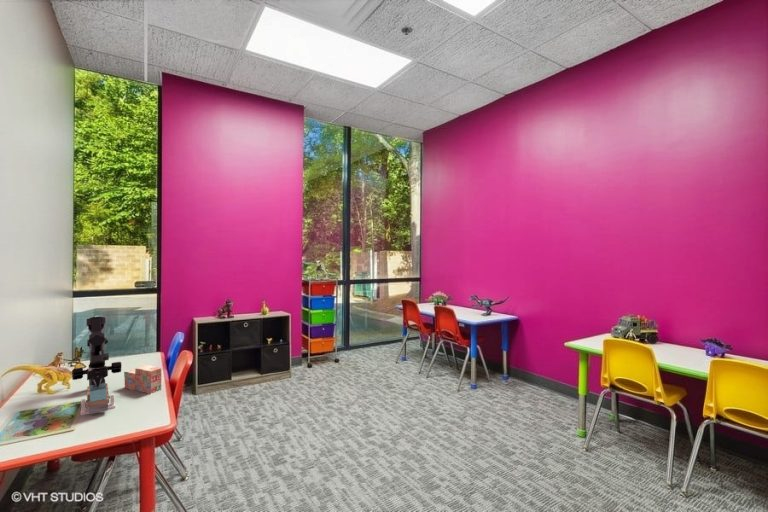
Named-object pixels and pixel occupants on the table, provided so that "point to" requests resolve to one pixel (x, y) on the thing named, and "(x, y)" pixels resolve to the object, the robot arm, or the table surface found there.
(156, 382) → the stack of blocks
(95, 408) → the beam
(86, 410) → the pivot stand
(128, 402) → the table surface
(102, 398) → the grey rectangular block
